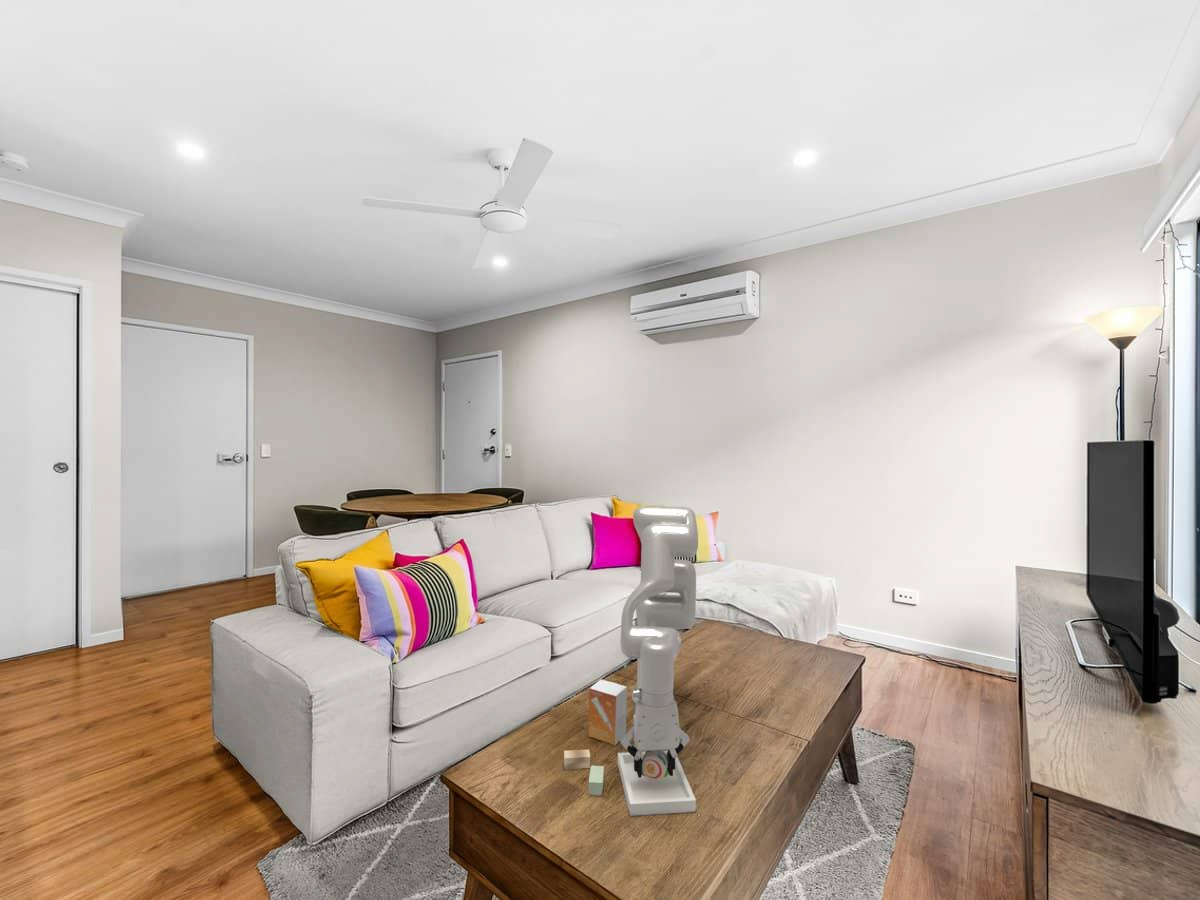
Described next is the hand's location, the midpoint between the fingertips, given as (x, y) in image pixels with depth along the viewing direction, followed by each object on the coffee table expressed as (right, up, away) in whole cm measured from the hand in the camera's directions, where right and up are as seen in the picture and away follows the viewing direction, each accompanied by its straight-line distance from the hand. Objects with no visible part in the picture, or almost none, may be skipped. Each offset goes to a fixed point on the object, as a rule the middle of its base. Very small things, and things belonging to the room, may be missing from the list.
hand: (654, 772), depth 122 cm
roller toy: (0, -1, 0) cm, 1 cm away
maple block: (-18, -3, +7) cm, 19 cm away
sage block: (-13, -3, -1) cm, 13 cm away
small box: (-10, -2, +20) cm, 23 cm away
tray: (0, -3, 0) cm, 3 cm away
